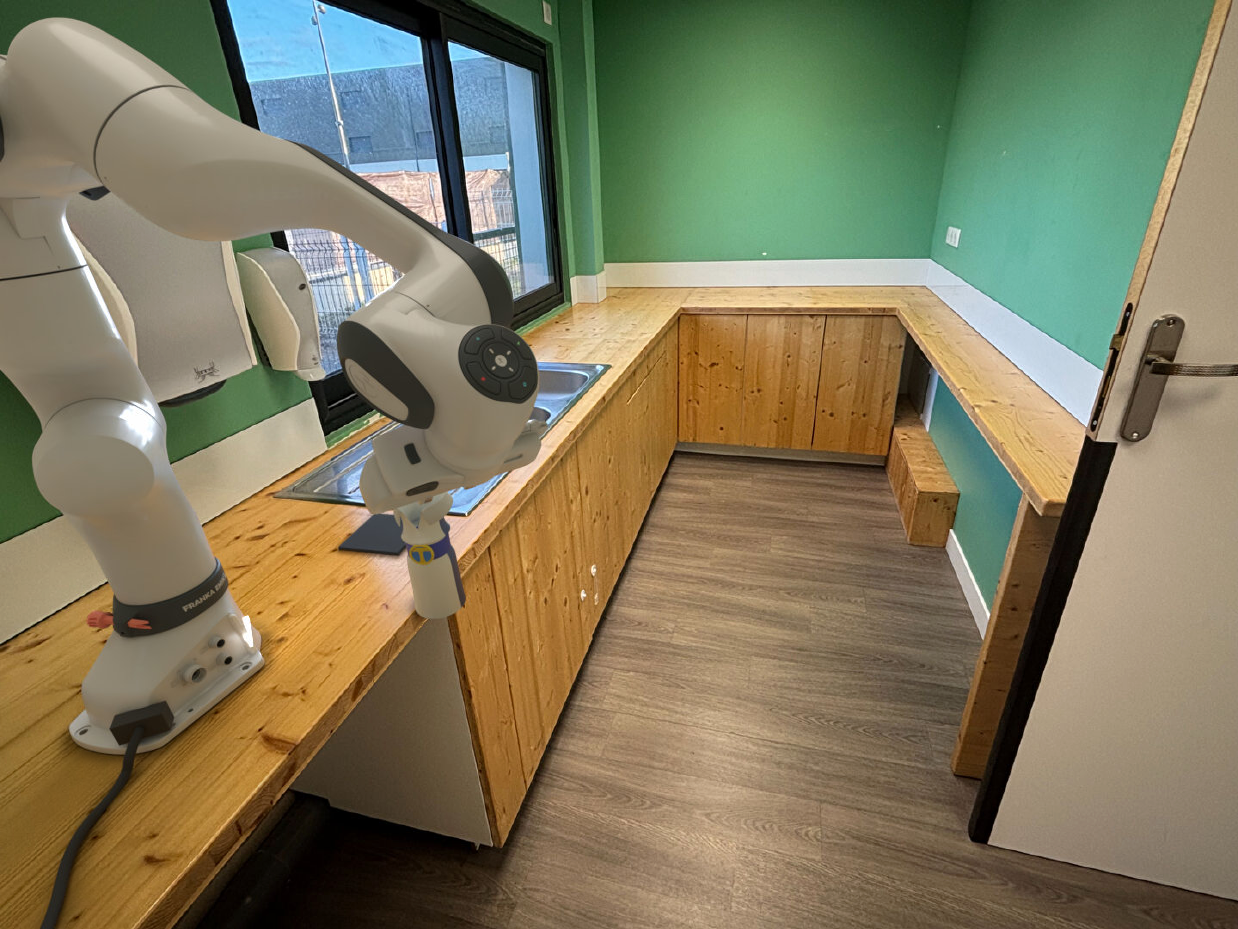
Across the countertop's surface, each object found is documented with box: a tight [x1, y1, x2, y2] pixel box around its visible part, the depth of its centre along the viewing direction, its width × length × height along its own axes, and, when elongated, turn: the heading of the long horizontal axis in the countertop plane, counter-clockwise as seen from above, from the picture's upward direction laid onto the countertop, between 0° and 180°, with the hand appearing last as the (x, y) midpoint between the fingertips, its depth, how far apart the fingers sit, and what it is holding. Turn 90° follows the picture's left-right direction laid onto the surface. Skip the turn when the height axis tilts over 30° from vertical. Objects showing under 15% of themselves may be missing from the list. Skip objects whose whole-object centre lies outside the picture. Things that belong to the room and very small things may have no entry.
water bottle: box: [392, 491, 467, 620], centre depth 89 cm, size 8×9×25 cm
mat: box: [337, 513, 407, 556], centre depth 113 cm, size 12×12×1 cm
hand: (445, 490), depth 74 cm, fingers open, 4 cm apart
